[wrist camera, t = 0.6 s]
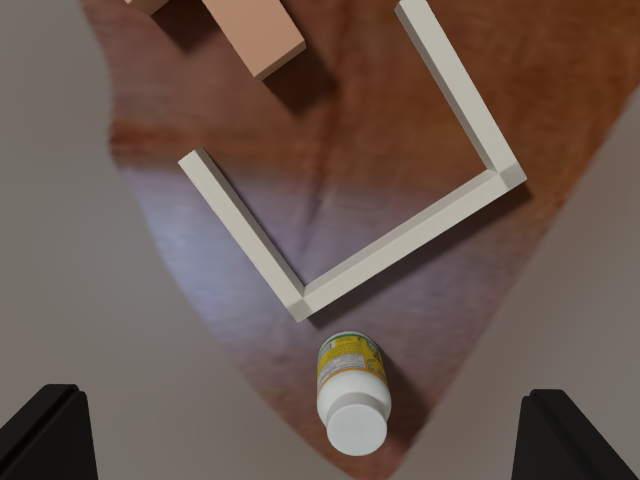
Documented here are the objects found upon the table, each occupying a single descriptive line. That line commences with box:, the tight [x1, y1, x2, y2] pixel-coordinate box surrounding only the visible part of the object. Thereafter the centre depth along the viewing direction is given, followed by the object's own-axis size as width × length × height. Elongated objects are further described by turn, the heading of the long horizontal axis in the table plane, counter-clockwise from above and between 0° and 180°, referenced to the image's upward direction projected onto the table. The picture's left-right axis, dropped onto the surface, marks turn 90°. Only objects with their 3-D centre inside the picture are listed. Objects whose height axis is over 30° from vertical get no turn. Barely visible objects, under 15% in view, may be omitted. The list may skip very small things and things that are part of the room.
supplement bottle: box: [317, 331, 391, 456], centre depth 36 cm, size 5×5×10 cm
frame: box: [178, 0, 527, 323], centre depth 36 cm, size 20×15×2 cm
